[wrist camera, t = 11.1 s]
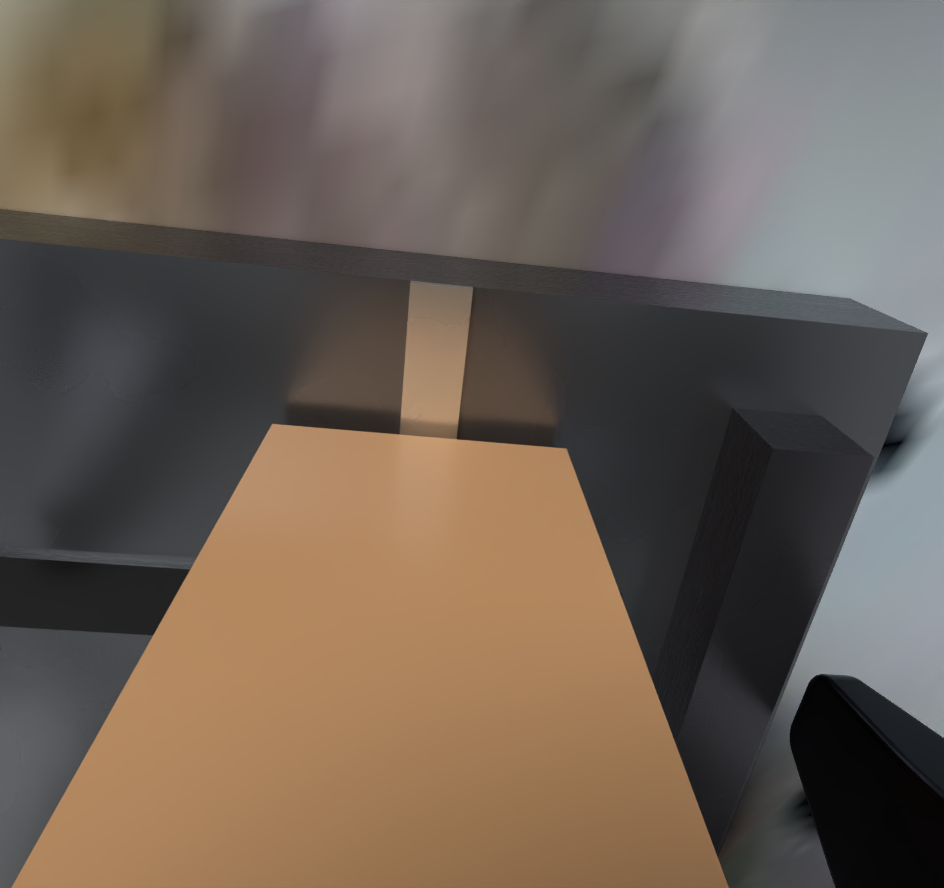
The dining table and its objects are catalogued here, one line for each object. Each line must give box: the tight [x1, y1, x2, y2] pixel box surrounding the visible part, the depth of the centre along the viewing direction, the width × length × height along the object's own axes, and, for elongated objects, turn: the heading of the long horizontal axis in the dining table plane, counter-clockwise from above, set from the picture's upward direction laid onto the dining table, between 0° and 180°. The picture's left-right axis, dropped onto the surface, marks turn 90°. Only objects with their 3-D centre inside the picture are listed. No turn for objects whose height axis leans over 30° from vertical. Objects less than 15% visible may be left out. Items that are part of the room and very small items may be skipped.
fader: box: [12, 424, 729, 888], centre depth 6 cm, size 5×3×5 cm, turn 174°
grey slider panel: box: [0, 209, 928, 888], centre depth 10 cm, size 18×18×2 cm
